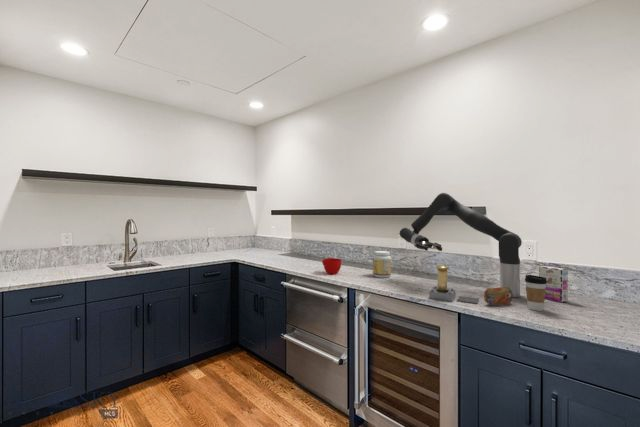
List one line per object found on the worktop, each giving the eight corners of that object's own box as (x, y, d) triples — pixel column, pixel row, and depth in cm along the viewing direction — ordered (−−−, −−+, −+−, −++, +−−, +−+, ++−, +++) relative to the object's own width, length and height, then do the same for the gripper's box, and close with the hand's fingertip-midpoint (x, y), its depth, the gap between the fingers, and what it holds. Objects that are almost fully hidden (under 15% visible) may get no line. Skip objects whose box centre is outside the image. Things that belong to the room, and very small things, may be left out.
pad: (478, 299, 156) (478, 298, 156) (477, 304, 149) (477, 302, 149) (459, 297, 161) (459, 295, 161) (457, 301, 153) (457, 300, 153)
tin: (487, 306, 145) (487, 288, 145) (482, 304, 148) (482, 287, 148) (513, 304, 149) (513, 286, 149) (507, 302, 153) (507, 285, 152)
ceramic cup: (329, 270, 233) (329, 257, 233) (345, 273, 220) (345, 259, 220) (316, 272, 224) (316, 258, 224) (331, 276, 211) (331, 261, 211)
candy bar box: (568, 301, 154) (568, 269, 154) (561, 302, 152) (561, 269, 152) (544, 296, 164) (545, 265, 164) (538, 297, 162) (538, 265, 162)
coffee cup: (525, 304, 148) (525, 273, 148) (547, 308, 143) (547, 276, 143) (523, 309, 142) (523, 276, 141) (546, 312, 136) (546, 279, 136)
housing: (455, 296, 162) (455, 288, 162) (452, 301, 153) (452, 293, 153) (433, 293, 168) (433, 286, 168) (429, 298, 158) (429, 290, 158)
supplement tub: (369, 275, 216) (369, 251, 216) (385, 274, 220) (385, 250, 220) (378, 278, 205) (378, 253, 205) (394, 277, 208) (394, 252, 208)
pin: (449, 296, 161) (449, 266, 161) (447, 299, 156) (447, 268, 156) (437, 295, 164) (437, 265, 164) (435, 297, 159) (435, 266, 159)
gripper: (409, 235, 183) (423, 242, 168) (431, 235, 186) (447, 243, 170) (408, 247, 185) (421, 255, 169) (429, 247, 187) (445, 256, 172)
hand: (434, 249), depth 170 cm, fingers open, 8 cm apart
